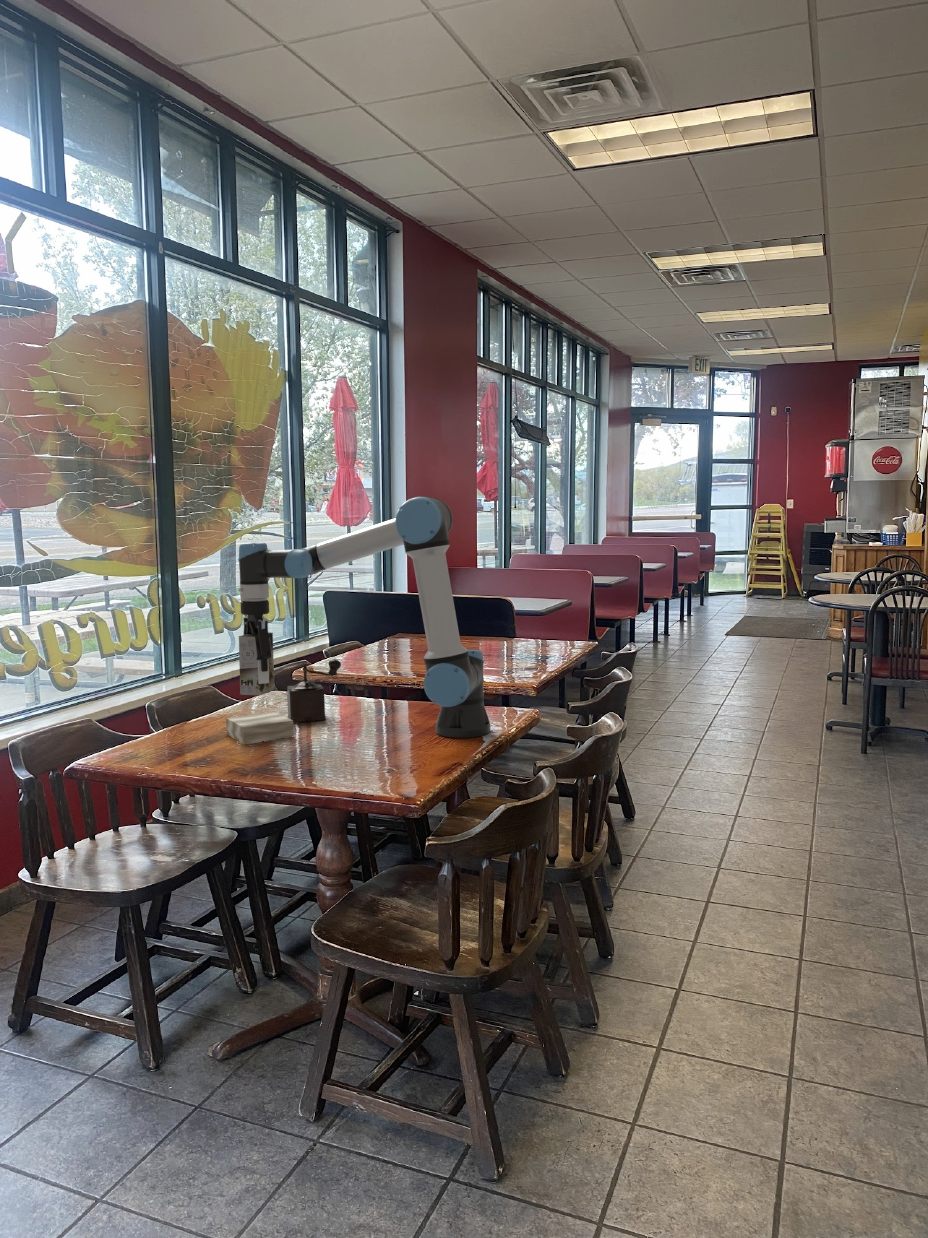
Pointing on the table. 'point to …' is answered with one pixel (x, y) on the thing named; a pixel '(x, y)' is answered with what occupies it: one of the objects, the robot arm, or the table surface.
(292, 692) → the coffee grinder
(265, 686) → the coffee box
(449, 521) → the robot arm
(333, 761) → the table surface
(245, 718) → the birch block
